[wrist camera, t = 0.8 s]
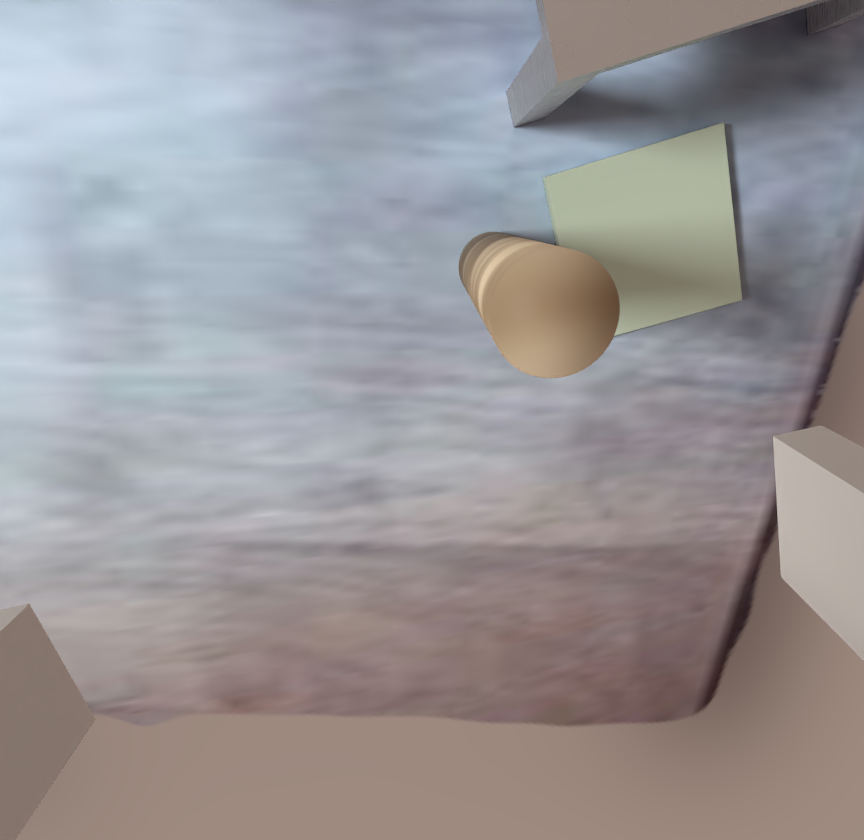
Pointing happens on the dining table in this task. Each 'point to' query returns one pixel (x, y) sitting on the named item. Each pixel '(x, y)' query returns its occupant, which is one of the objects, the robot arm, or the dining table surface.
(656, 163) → the pad
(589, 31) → the stand
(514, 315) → the rod
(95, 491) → the dining table surface
